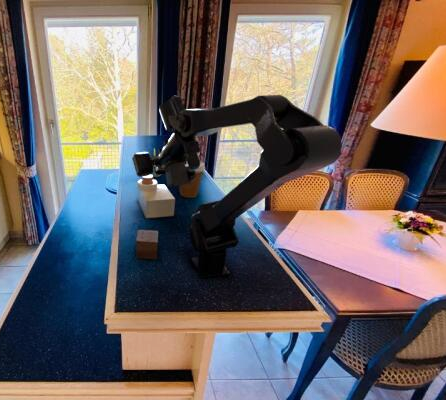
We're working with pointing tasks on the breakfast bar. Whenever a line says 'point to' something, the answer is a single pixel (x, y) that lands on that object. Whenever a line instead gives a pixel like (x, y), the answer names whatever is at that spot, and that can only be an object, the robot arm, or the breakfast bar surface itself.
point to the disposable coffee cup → (192, 183)
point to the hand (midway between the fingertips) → (156, 174)
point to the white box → (155, 200)
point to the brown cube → (146, 244)
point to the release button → (147, 179)
